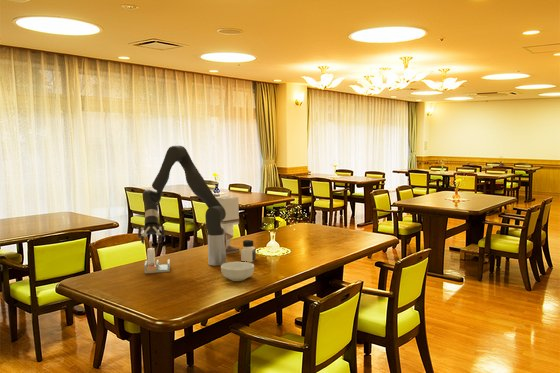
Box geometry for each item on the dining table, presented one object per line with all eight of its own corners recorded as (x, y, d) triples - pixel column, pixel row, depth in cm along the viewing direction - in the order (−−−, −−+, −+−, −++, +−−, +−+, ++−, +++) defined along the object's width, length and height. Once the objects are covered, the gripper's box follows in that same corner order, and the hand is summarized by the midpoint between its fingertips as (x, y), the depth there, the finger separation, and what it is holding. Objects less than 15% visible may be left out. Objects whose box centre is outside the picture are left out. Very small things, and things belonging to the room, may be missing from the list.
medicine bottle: (252, 262, 263) (252, 241, 262) (240, 261, 264) (240, 241, 263) (255, 259, 270) (255, 239, 269) (244, 258, 271) (244, 238, 270)
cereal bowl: (240, 285, 219) (240, 271, 218) (214, 280, 228) (214, 266, 227) (260, 277, 233) (260, 263, 233) (235, 272, 242) (234, 259, 241)
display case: (224, 254, 282) (223, 198, 278) (215, 251, 290) (213, 197, 286) (239, 251, 289) (238, 197, 286) (229, 248, 297) (228, 195, 294)
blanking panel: (148, 266, 251) (147, 248, 250) (155, 265, 252) (154, 248, 251) (147, 268, 245) (147, 250, 244) (154, 268, 246) (153, 250, 245)
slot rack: (145, 267, 252) (145, 260, 252) (169, 266, 255) (169, 259, 255) (144, 273, 242) (144, 265, 241) (169, 271, 245) (169, 263, 244)
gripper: (138, 215, 256) (137, 239, 246) (164, 214, 260) (164, 238, 249) (139, 223, 262) (138, 247, 252) (164, 222, 265) (164, 245, 255)
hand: (151, 242), depth 251 cm, fingers open, 8 cm apart
